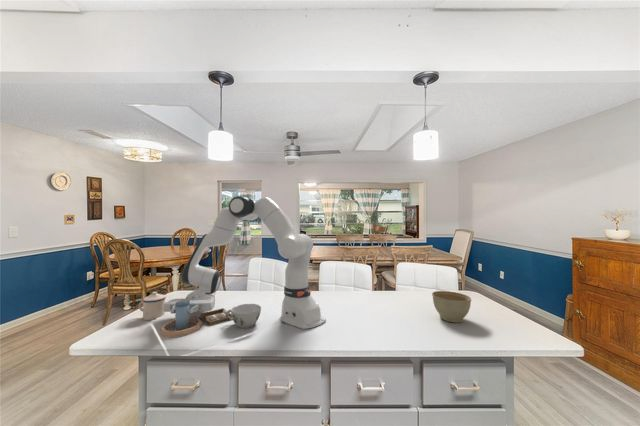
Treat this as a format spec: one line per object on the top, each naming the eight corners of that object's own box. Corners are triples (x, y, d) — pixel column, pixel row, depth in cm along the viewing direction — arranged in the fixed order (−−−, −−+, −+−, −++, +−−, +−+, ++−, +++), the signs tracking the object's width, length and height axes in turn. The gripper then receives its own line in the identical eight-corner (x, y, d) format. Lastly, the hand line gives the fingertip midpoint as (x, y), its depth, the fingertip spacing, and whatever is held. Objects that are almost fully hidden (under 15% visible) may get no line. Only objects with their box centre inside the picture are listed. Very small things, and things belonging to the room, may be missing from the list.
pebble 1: (217, 322, 109) (217, 315, 110) (210, 324, 107) (210, 317, 108) (215, 320, 112) (215, 313, 112) (208, 321, 110) (208, 315, 110)
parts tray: (234, 320, 113) (234, 315, 113) (209, 327, 106) (209, 322, 106) (223, 312, 123) (223, 308, 123) (199, 318, 116) (199, 313, 116)
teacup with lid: (169, 313, 122) (170, 289, 122) (156, 321, 113) (156, 295, 113) (146, 312, 122) (146, 289, 123) (131, 320, 113) (131, 294, 114)
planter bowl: (477, 327, 107) (477, 302, 107) (437, 324, 110) (437, 299, 110) (463, 313, 122) (463, 291, 123) (428, 311, 125) (428, 289, 126)
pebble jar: (190, 329, 103) (191, 302, 103) (176, 332, 99) (177, 305, 100) (187, 325, 107) (187, 299, 107) (173, 328, 103) (174, 301, 104)
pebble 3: (229, 317, 115) (229, 310, 115) (222, 318, 113) (222, 312, 113) (226, 315, 118) (226, 308, 118) (220, 316, 115) (220, 310, 116)
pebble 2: (227, 319, 112) (227, 313, 112) (220, 321, 110) (220, 314, 110) (224, 318, 114) (224, 311, 114) (217, 319, 112) (217, 313, 112)
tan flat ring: (205, 331, 102) (205, 324, 102) (165, 342, 93) (165, 335, 93) (195, 320, 113) (195, 315, 113) (158, 330, 103) (158, 323, 103)
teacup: (265, 321, 112) (265, 303, 113) (254, 334, 100) (254, 314, 100) (234, 319, 115) (234, 302, 115) (219, 331, 102) (219, 311, 102)
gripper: (173, 294, 116) (155, 304, 102) (218, 293, 117) (206, 303, 103) (172, 307, 115) (154, 319, 102) (217, 307, 116) (205, 318, 103)
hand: (181, 311), depth 102 cm, fingers open, 5 cm apart
